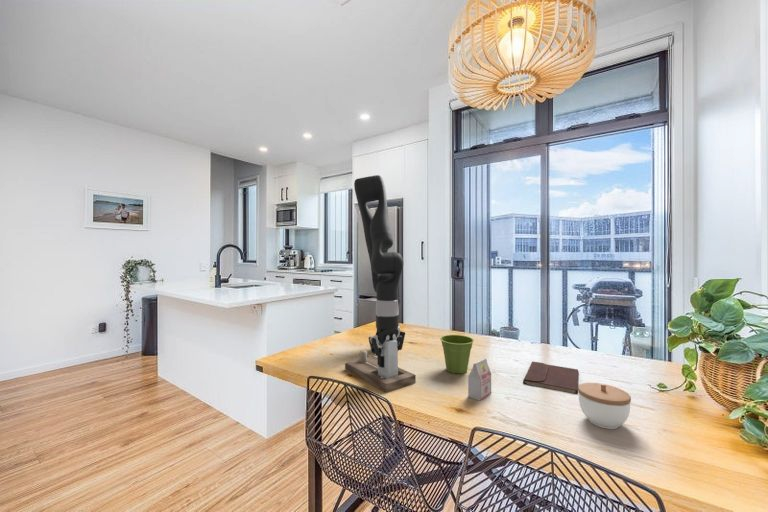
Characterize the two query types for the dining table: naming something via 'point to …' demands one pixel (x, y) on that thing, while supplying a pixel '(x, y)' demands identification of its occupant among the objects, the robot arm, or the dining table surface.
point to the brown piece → (369, 372)
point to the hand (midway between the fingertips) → (387, 365)
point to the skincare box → (389, 360)
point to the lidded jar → (604, 404)
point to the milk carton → (479, 380)
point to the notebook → (552, 377)
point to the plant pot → (456, 352)
